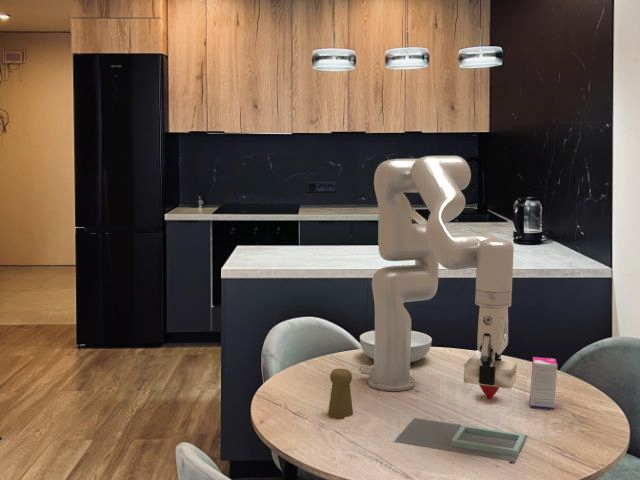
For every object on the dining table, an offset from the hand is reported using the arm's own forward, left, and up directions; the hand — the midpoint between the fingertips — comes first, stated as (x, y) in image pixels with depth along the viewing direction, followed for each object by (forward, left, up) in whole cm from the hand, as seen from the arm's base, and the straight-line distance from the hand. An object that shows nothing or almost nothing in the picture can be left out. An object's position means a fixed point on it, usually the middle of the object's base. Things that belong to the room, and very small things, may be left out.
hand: (489, 379), depth 183 cm
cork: (-36, +4, -15) cm, 39 cm away
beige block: (0, 0, -1) cm, 1 cm away
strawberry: (-6, +30, -15) cm, 34 cm away
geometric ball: (-11, +50, -15) cm, 53 cm away
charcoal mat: (-6, 0, -15) cm, 16 cm away
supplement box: (+7, +31, -15) cm, 35 cm away
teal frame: (0, 0, -15) cm, 15 cm away
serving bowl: (-38, +53, -15) cm, 67 cm away
